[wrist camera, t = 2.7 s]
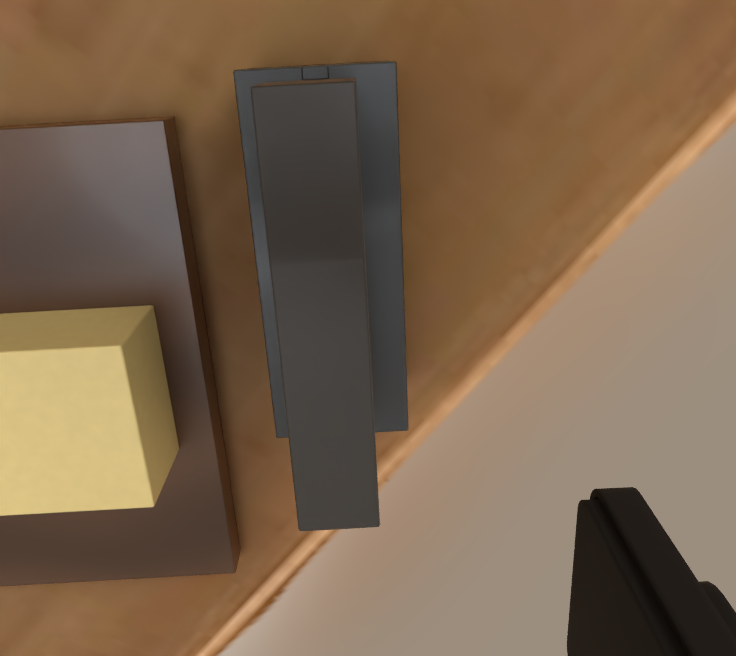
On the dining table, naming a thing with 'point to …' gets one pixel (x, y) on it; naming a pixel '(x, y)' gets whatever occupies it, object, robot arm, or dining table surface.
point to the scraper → (320, 294)
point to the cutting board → (105, 290)
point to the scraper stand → (378, 220)
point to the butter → (83, 411)
